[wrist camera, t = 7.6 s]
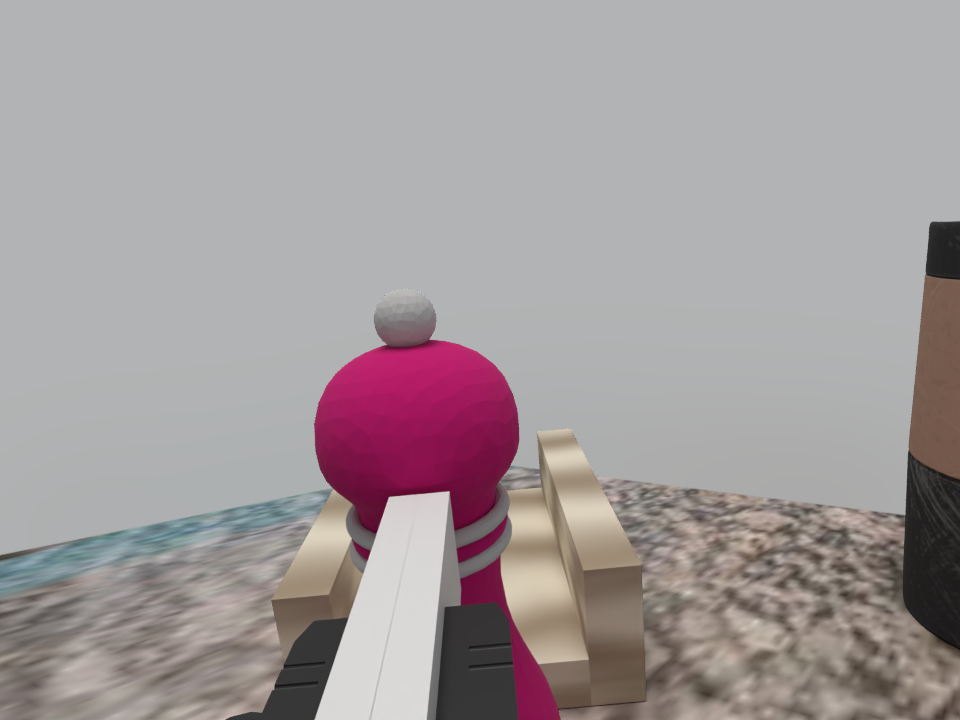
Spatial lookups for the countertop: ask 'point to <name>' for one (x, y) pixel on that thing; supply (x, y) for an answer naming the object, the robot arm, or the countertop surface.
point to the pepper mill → (429, 455)
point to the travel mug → (936, 447)
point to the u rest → (520, 581)
